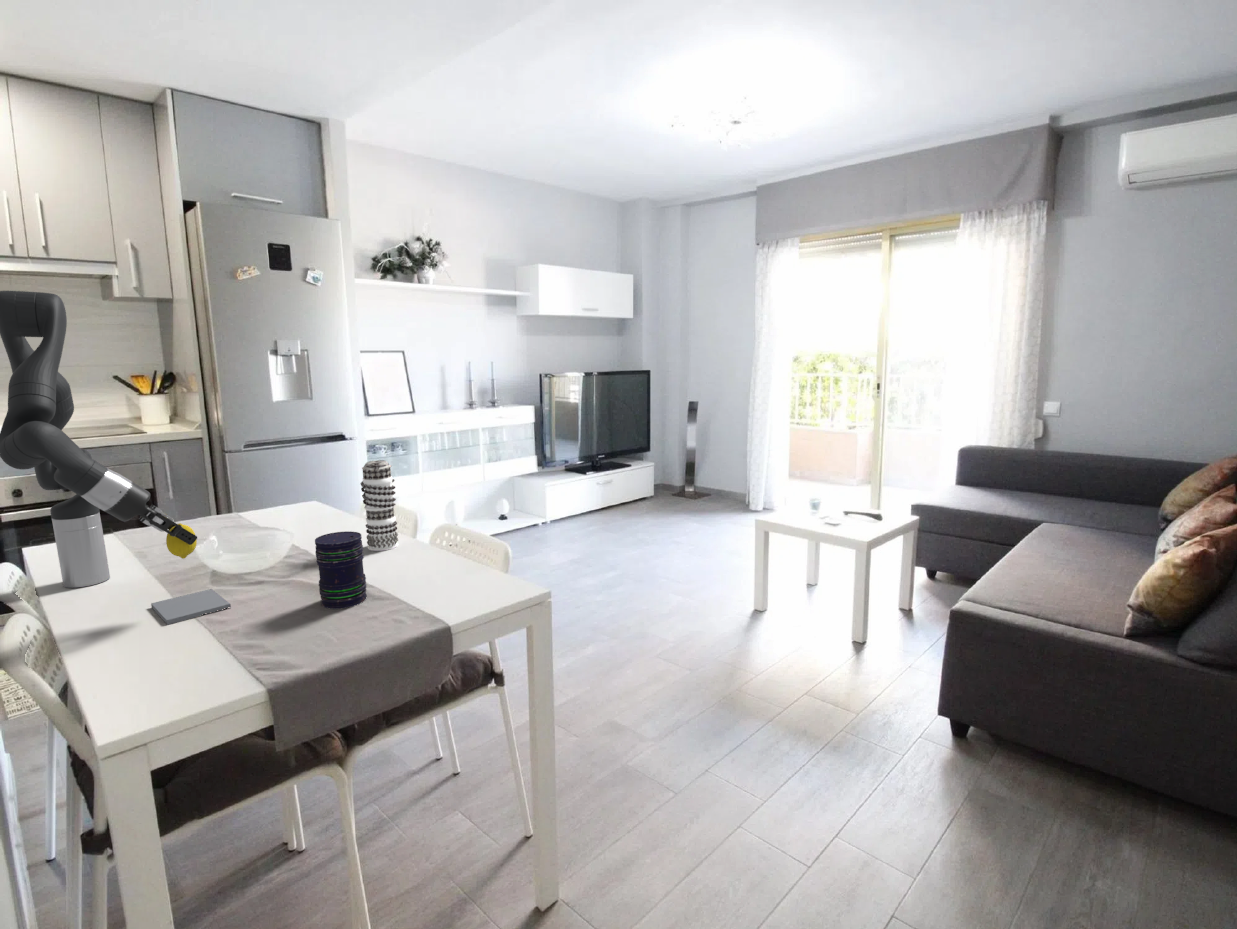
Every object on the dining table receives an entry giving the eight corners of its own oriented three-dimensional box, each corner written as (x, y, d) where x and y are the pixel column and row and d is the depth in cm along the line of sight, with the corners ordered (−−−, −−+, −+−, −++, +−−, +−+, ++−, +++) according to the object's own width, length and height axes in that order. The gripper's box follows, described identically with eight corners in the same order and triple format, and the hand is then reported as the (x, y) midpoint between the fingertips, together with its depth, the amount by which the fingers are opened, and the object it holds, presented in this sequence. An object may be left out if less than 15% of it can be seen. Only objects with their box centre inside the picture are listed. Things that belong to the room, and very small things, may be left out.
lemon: (164, 563, 141) (159, 527, 140) (174, 556, 147) (169, 521, 145) (194, 561, 143) (189, 525, 141) (202, 553, 148) (197, 519, 147)
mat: (151, 607, 147) (151, 603, 147) (212, 592, 156) (211, 588, 156) (167, 624, 138) (166, 620, 138) (230, 608, 146) (230, 603, 146)
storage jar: (317, 611, 144) (310, 545, 141) (324, 595, 153) (317, 533, 150) (365, 606, 146) (359, 541, 144) (369, 590, 155) (364, 529, 153)
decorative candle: (367, 543, 193) (359, 460, 189) (400, 540, 196) (393, 458, 192) (365, 552, 185) (357, 465, 180) (399, 549, 188) (392, 463, 183)
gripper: (137, 484, 131) (212, 530, 142) (122, 475, 141) (193, 519, 152) (108, 515, 128) (187, 559, 139) (95, 504, 138) (169, 546, 149)
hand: (190, 538), depth 145 cm, fingers closed on lemon, 5 cm apart
